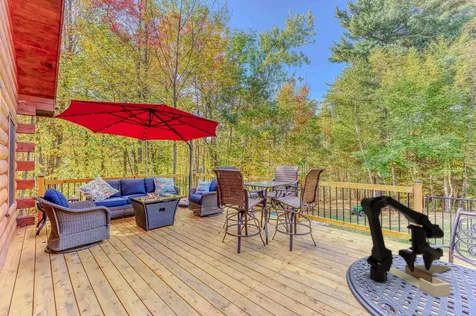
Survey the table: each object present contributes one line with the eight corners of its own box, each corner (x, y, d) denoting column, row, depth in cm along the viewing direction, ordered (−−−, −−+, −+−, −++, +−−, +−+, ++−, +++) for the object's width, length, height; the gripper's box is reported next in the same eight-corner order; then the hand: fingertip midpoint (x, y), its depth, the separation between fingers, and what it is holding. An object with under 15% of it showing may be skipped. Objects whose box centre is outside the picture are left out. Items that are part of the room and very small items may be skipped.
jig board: (436, 299, 87) (435, 297, 87) (382, 269, 112) (382, 268, 112) (449, 297, 88) (449, 295, 88) (393, 268, 113) (393, 267, 113)
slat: (429, 287, 96) (429, 277, 96) (405, 274, 108) (405, 265, 108) (437, 286, 96) (436, 276, 96) (412, 273, 108) (412, 264, 108)
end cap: (435, 297, 87) (434, 285, 87) (419, 288, 93) (419, 278, 93) (450, 294, 88) (449, 283, 88) (434, 287, 94) (433, 276, 94)
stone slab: (406, 272, 113) (428, 278, 104) (405, 266, 113) (427, 272, 104) (432, 265, 121) (454, 271, 111) (431, 260, 121) (453, 266, 112)
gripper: (420, 245, 93) (421, 281, 92) (453, 243, 97) (454, 277, 96) (397, 237, 104) (398, 269, 103) (427, 235, 108) (428, 266, 107)
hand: (419, 271), depth 102 cm, fingers open, 9 cm apart
